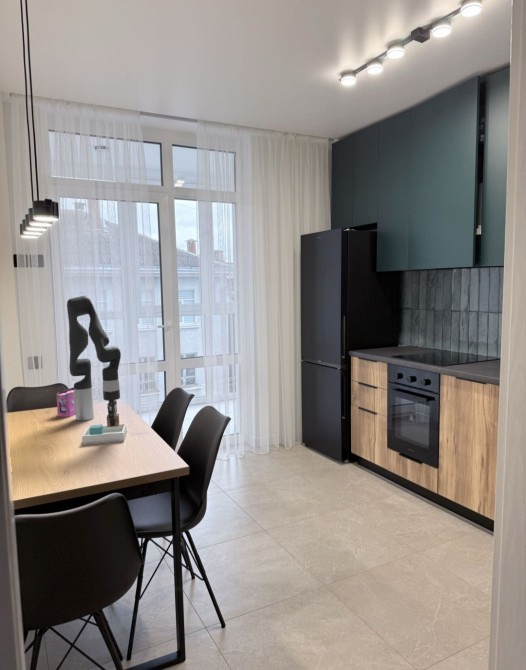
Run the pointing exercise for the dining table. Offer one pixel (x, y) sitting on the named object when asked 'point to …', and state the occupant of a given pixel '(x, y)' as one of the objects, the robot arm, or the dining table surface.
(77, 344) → the robot arm
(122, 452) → the dining table surface
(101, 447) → the dining table surface
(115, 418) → the walnut block
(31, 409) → the dining table surface
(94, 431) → the teal block
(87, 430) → the white tray
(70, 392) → the gum box
